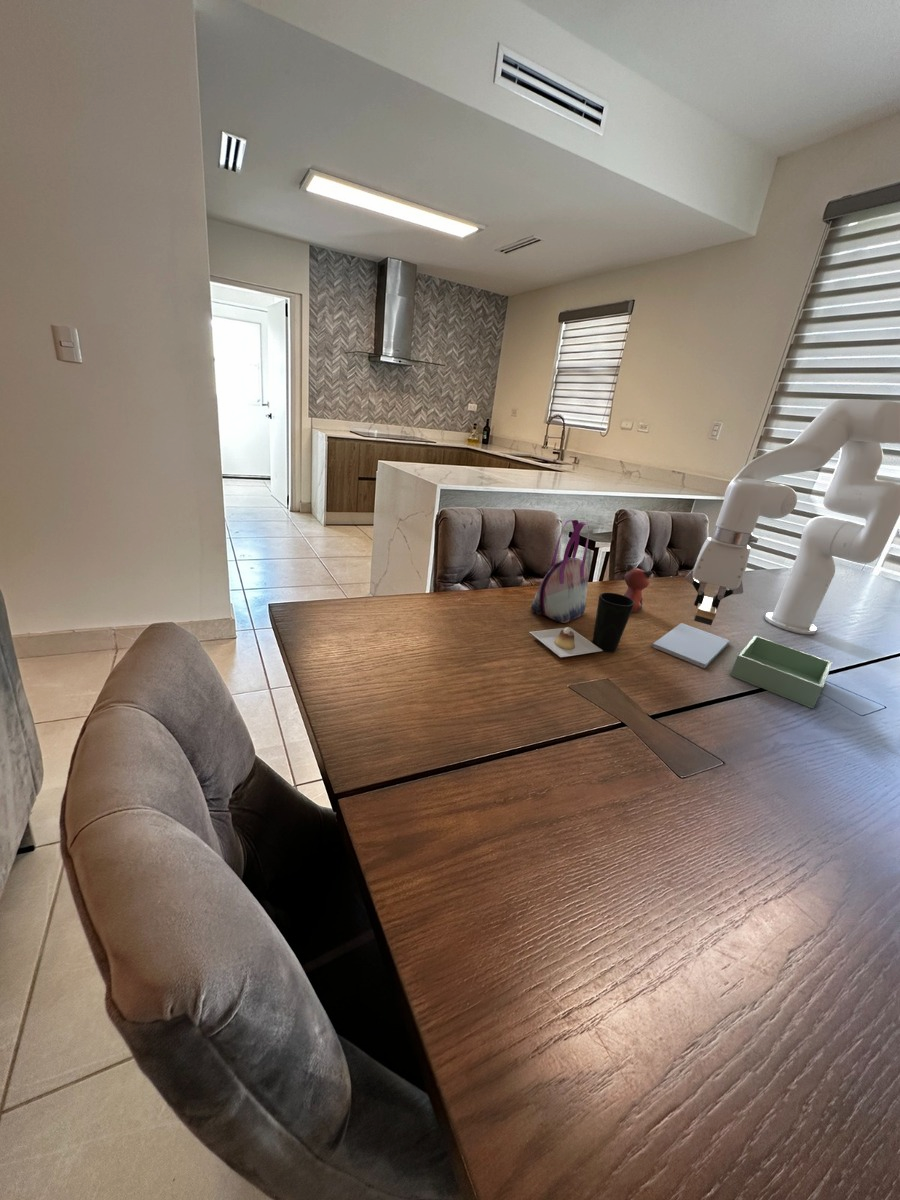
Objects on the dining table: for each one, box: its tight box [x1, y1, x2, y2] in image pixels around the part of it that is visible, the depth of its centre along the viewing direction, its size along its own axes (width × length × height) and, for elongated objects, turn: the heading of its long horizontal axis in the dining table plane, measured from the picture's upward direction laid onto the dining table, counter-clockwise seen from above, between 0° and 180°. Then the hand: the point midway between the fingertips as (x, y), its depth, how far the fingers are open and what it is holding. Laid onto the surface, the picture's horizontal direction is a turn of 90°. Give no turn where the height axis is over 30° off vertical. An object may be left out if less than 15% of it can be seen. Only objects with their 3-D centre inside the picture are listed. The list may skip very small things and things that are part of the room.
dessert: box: [529, 626, 604, 658], centre depth 107 cm, size 12×12×5 cm
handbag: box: [531, 519, 590, 624], centre depth 120 cm, size 21×10×25 cm, turn 135°
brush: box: [693, 595, 717, 626], centre depth 111 cm, size 12×4×3 cm, turn 152°
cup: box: [592, 592, 635, 653], centre depth 108 cm, size 8×8×12 cm
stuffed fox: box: [623, 563, 654, 613], centre depth 131 cm, size 8×11×12 cm
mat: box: [651, 622, 731, 669], centre depth 116 cm, size 20×12×1 cm, turn 137°
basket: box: [729, 635, 833, 709], centre depth 104 cm, size 16×15×5 cm
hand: (704, 610), depth 113 cm, fingers closed on brush, 2 cm apart
